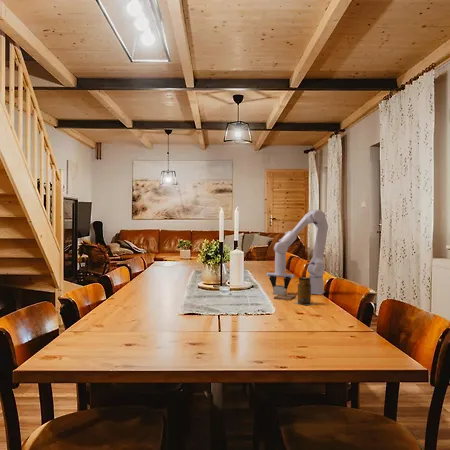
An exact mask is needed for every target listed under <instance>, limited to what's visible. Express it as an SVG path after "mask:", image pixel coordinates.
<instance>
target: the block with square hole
mask: <svg viewBox="0 0 450 450" xmlns="http://www.w3.org/2000/svg"><path fill="white" fill-rule="evenodd" d="M272 290H273V295H276V296H277V295H279V294H284V285H281V284H276V286H273V287H272Z"/></svg>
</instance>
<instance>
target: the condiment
mask: <svg viewBox="0 0 450 450" xmlns="http://www.w3.org/2000/svg"><path fill="white" fill-rule="evenodd" d="M311 296H312V294H311V284H310V278H309V276H308V277H305V276H302V277H299V278H298V283H297V301H294V302H293V303H294V304H298V305H303V306H313V305H317V303H314V302H311V301H312V300H311V299H312V298H311Z"/></svg>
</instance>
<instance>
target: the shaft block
mask: <svg viewBox="0 0 450 450" xmlns="http://www.w3.org/2000/svg"><path fill="white" fill-rule="evenodd" d="M296 297H297V295H296V294H290V293H289V294H288V288H287V289H284V294H279V295H277V294H276V295H275V296H274V297H273V299H274V300H283V301H291V300H293V299H295V298H296Z"/></svg>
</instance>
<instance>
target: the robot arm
mask: <svg viewBox="0 0 450 450" xmlns="http://www.w3.org/2000/svg"><path fill="white" fill-rule="evenodd" d="M310 224H313V225H315V227H316V229H317V230H316V236H315V237H316V238H315V242H314V248H313V254H312V258H311V259H310V260H309V261H310V262H309V264H308V266H307V273H309V274H308V278H310V284H311V295H320V296H321V295H324V293H326V291H325V290H324V287H325V285H324V278H323V277H324V275H325V266H324V265H325V262H324V252H325V249H326V248H325V247H326V242H327V236H328V229H329V224H328V221H327V217H326V213H324V212H323V210H321V209H311V210H308V212H307V213H306V214H304V215H303V217H302V218H301V219H300V220H299V222H298V223H297V224H296V225H295V227H293V229H292V230H288V231H285V233H284V235H283V236H282V237H281V238H280V239H278V242H275V244H274V246H273V251H274V253H275V254H274V255H275V256H274V272H266V277H267V278H268V277H269V278H268V279H269V281H270V283H271V286H272V288H273V286H276V285H277V278H283V282H284V283H283V284H284V285H283V286H284V289H287V290H288V287H289V284H290V282H291V280H292V279H294V278H295V274H293V273H287V271H286V269H287V266H286V265H287V252H288V251H289V247H291V245H292V244H293V243H294V242H295V241H296V240H297V238H298V237H297V235H298V234H299V233H300V232H301V231H302V230H303V229H304V228H305V227H306V226H307V225H310Z"/></svg>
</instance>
